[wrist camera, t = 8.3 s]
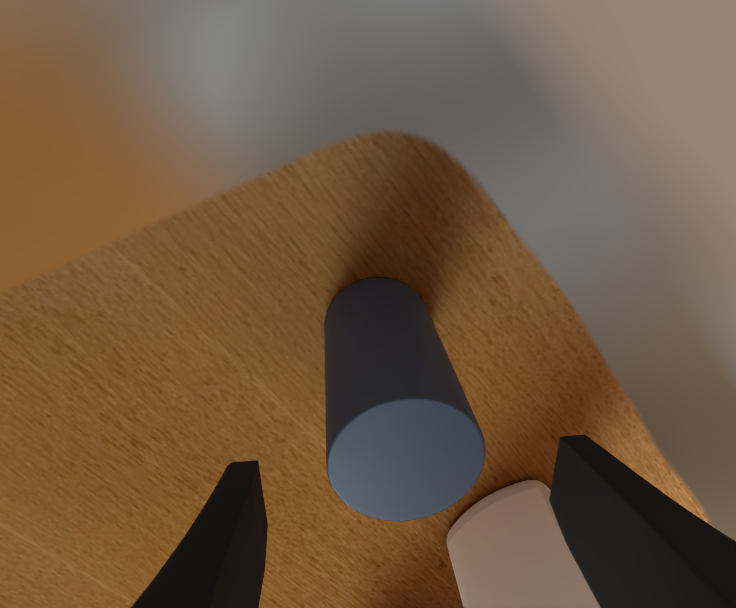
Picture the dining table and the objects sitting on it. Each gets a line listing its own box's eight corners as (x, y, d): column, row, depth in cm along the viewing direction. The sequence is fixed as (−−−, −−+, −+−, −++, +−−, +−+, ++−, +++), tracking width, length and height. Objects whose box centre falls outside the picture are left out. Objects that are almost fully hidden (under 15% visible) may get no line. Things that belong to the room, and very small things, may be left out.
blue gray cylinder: (302, 321, 19) (292, 462, 12) (385, 255, 18) (423, 366, 11) (369, 387, 20) (393, 544, 14) (448, 329, 20) (516, 465, 13)
